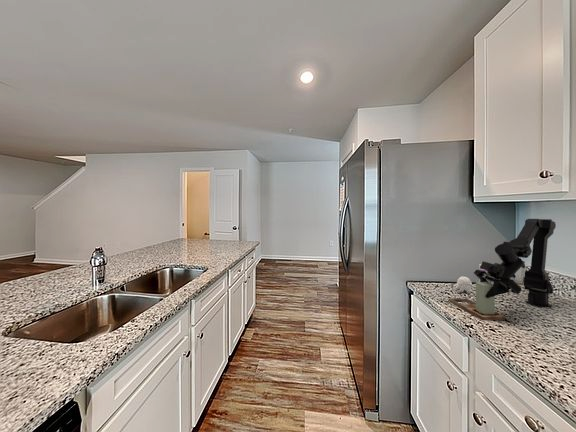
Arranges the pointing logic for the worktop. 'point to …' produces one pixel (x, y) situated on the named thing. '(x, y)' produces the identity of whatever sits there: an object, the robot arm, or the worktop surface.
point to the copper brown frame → (472, 309)
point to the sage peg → (484, 298)
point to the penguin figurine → (464, 284)
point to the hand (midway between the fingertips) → (481, 295)
